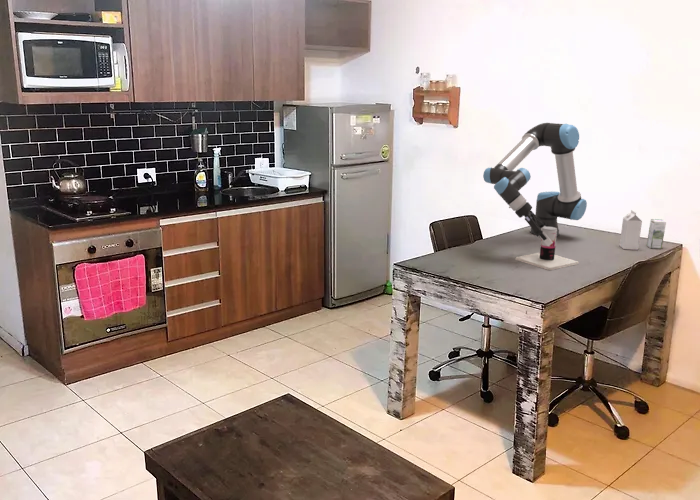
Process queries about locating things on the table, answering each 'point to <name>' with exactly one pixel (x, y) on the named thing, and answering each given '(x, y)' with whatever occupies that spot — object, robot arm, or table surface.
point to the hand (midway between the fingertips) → (551, 241)
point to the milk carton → (630, 231)
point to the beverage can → (548, 251)
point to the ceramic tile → (549, 265)
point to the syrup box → (656, 233)
